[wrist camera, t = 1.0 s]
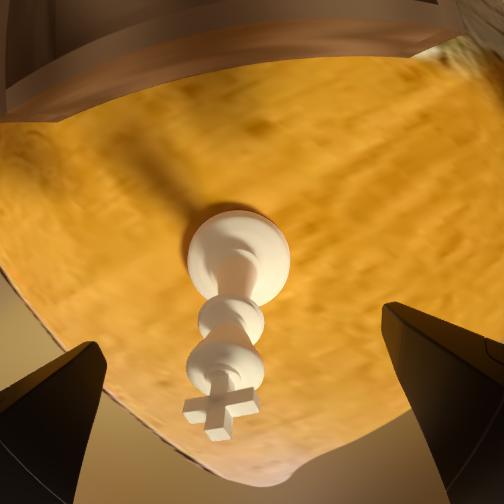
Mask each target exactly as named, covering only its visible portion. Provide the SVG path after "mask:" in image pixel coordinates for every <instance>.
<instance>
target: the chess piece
mask: <svg viewBox="0 0 504 504" xmlns="http://www.w3.org/2000/svg"><path fill="white" fill-rule="evenodd" d="M187 265H188V272H189V275H190V278H191V280H192V282H193V284H194V286H195V287H196V289H197V290H198V291H199V293H200V294H201V295H202V296H203V297H205V298H206V299H207V301H206V302H205V303H204V304H203V306H202V307H201V309H200V311H199V314H198V326H199V330H200V333H201V335H202V337H203V338H204V340H202V341H201V342H200V343H199V344H198V345H197V346H196V347H195V348H194V349H193V350H192V352H191V353H190V355H189V357H188V359H187V364H186V371H187V375H188V377H189V379H190V381H191V383H192V384H193V385H194V386H195V387H196V388H197V389H198V390H200V391H201V392H203V393H204V394H206V395H208V396H205V397H199V398H193V399H187V400H185V404H184V408H183V412H182V413H183V414H184V416H185V417H186V418H187V420H188V421H189V422H190V424H195V423H202V422H205V427H204V431H205V432H206V434H207V435H208V436H209V438H210V439H211V440H212V441H220V440H227V439H232V424H233V417H239V416H244V415H249V414H254V413H259V412H260V399H259V397H258V395H257V393H256V391H255V390H256V389H257V388H258V387H259V386H260V384H261V383H262V381H263V378H264V365H263V362H262V359H261V357H260V355H259V353H258V351H257V350H256V348H255V347H254V346H253V345H254V344H255V343H256V342H257V341H258V339H259V338H260V336H261V334H262V332H263V329H264V316H263V313H262V311H261V309H260V308H259V306H261V305H263V304H265V303H267V302H269V301H270V300H271V299H273V298H274V297H275V296H276V295H277V294H278V293H279V292H280V290H281V289H282V287H283V286H284V284H285V282H286V280H287V277H288V273H289V267H290V252H289V247H288V244H287V241H286V239H285V237H284V235H283V234H282V232H281V231H280V230H279V228H278V227H277V226H276V225H275V224H274V223H272V222H271V221H270V220H268V219H267V218H265V217H264V216H261V215H259V214H257V213H254V212H250V211H243V210H233V211H227V212H223V213H220V214H217V215H215V216H213V217H211V218H210V219H208V220H207V221H206V222H204V223H203V224H202V225H201V226H200V227H199V228H198V230H197V231H196V232H195V234H194V236H193V238H192V240H191V243H190V246H189V251H188V258H187Z"/></svg>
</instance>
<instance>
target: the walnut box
mask: <svg viewBox="0 0 504 504" xmlns="http://www.w3.org/2000/svg"><path fill="white" fill-rule="evenodd" d="M465 33H466V30H465V27H464V24H463V21H462V18H461V15H460V12H459V9H458V6H457V3H456V1H455V0H0V123H5V122H59V121H61V120H64V119H66V118H68V117H70V116H73V115H75V114H77V113H80V112H82V111H84V110H87V109H89V108H92V107H94V106H97V105H99V104H102V103H105V102H107V101H110V100H113V99H116V98H118V97H121V96H124V95H127V94H130V93H133V92H136V91H139V90H143V89H146V88H149V87H152V86H156V85H159V84H163V83H166V82H170V81H174V80H178V79H181V78H185V77H189V76H194V75H198V74H202V73H207V72H212V71H217V70H222V69H227V68H232V67H238V66H244V65H250V64H257V63H264V62H272V61H280V60H290V59H301V58H314V57H333V56H385V57H404V58H410V57H412V56H414V55H416V54H418V53H420V52H423V51H425V50H427V49H429V48H432V47H434V46H436V45H438V44H441V43H443V42H445V41H448V40H450V39H453V38H455V37H457V36H460V35H462V34H465Z"/></svg>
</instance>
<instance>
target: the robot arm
mask: <svg viewBox="0 0 504 504" xmlns="http://www.w3.org/2000/svg"><path fill="white" fill-rule="evenodd" d="M381 331H382V335H383V338H384V341H385V344H386V347H387V349H388V352H389V355H390V358H391V361H392V364H393V367H394V370H395V373H396V375H397V377H398V380H399V382H400V384H401V386H402V388H403V390H404V392H405V395H406V397H407V399H408V401H409V403H410V405H411V408H412V410H413V412H414V414H415V416H416V419H417V421H418V423H419V425H420V428H421V430H422V432H423V435H424V437H425V439H426V442H427V444H428V446H429V449H430V451H431V454H432V456H433V459H434V461H435V464H436V466H437V468H438V471H439V474H440V476H441V479H442V481H443V484H444V487H445V490H446V491H447V492H446V493H447V496H448V498H449V501H450V504H504V344H502V343H499V342H497V341H494V340H492V339H489V338H485V337H484V336H482V335H479V334H477V333H474V332H472V331H469V330H467V329H464V328H462V327H459V326H457V325H454V324H452V323H449V322H447V321H444V320H442V319H439V318H437V317H434V316H431V315H429V314H426V313H424V312H421V311H419V310H416V309H414V308H411V307H409V306H406V305H404V304H401V303H399V302H390V303H386V304H384V305H383V307H382V322H381ZM106 370H107V362H106V359H105V357H104V355H103V353H102V351H101V349H100V347H99V345H98V344H97V343H96V342H95V341H86V342H84V343H82V344H80V345H78V346H77V347H75V348H73V349H72V350H70V351H68V352H66V353H65V354H63V355H61V356H60V357H58V358H56V359H55V360H53V361H51V362H49V363H48V364H46V365H44V366H43V367H41V368H39V369H38V370H36V371H35V372H32V373H31V374H29V375H27V376H26V377H24V378H22V379H21V380H19V381H17V382H16V383H14V384H12V385H10V387H7V388H5V389H4V390H2V391H0V504H73V501H74V496H75V492H76V487H77V483H78V479H79V474H80V470H81V466H82V462H83V458H84V454H85V451H86V447H87V443H88V440H89V436H90V433H91V429H92V425H93V423H94V419H95V416H96V413H97V409H98V406H99V401H100V397H101V393H102V388H103V383H104V379H105V374H106Z"/></svg>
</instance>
